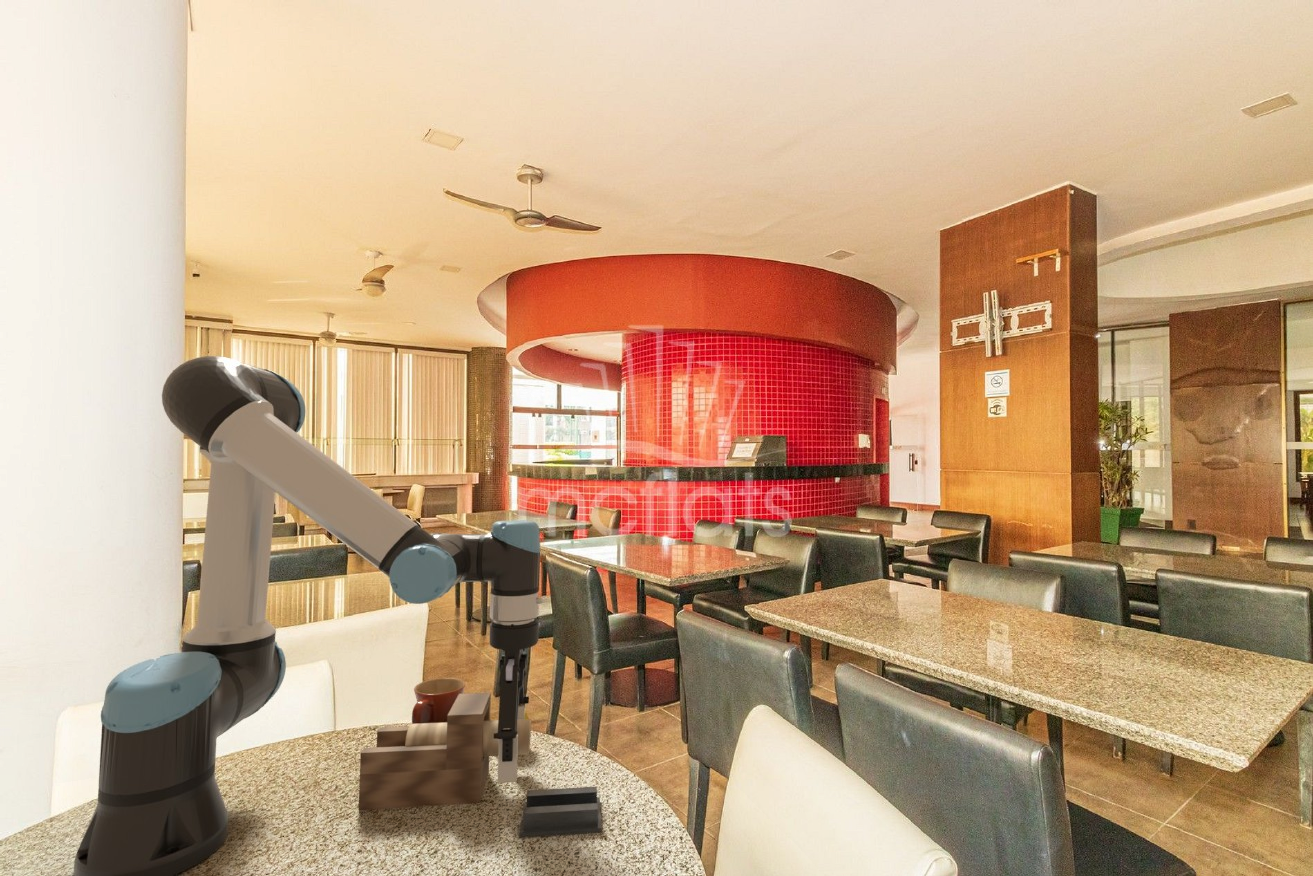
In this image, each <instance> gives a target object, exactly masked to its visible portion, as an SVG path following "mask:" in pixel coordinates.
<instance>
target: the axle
mask: <svg viewBox="0 0 1313 876" xmlns="http://www.w3.org/2000/svg"><path fill="white" fill-rule="evenodd" d="M531 724H532V723H531V718H529V719H518V720H517V734H518V756H522V755H525V756H526V755H530V750H531V733H532V732H531V731H532V730H531V729H532V727H531V726H532V725H531ZM408 726H409V728H408V731H407V736H406V742H405V746H420V745H441V744H447V722H445V723H421V724H412V723H410V724H409V725H408ZM507 729H510V728H507ZM494 733H498V719H497V720H490V721H484V725H483V757H487V756H489V757H498V748H499V739H498V738H497V739H494Z"/></svg>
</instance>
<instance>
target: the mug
mask: <svg viewBox="0 0 1313 876" xmlns="http://www.w3.org/2000/svg"><path fill="white" fill-rule="evenodd" d="M465 688H466V682H465V681H464V680H463V679H460V678H454V677H440V678H439V677H438V678H433V679H429V680H425V681H423V682H420V683H418V684H416V685H415V686H414V688H413V692H414V695H415V698H416V703H415V705H414V706H413V708H412V713H411V724H421V723H445V722H447V715H448V713H449V712H450V710H451V708H452V706H453V704H454V702H455V700H456V699H457V697H458V695H459V694H464V691H465Z"/></svg>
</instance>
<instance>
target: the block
mask: <svg viewBox="0 0 1313 876" xmlns="http://www.w3.org/2000/svg"><path fill="white" fill-rule="evenodd" d="M491 695H492V694H491V692H471V693H469V692H467V693H463V694H459V695H458V697H457V699H456V700H455V702H454V704H453V706H452V708H451V710H450V712H449V713H448V715H447V744H441V745H420V746H405V742H406V736H407V731H408V728H409V726H410V725H408V726H407V725H404V726H385V727H384V726H382V727H379V729H378V730H377V732H376V747H364V748H363V749H362V751H360V757H359V760H360V761H359V762H360V763H359V764H360V765H359V785H358V786H359V787H358V791H359V792H358V811H364V810H365V811H366V810H385V809H388V810H389V809H398V808H399V809H402V808H419V807H436V806H438V807H439V806H452V805H453V806H454V805H455V806H456V805H468V804H469V805H470V804H471V805H472V804H480V803H481V802H482V797H483V794H484V792H485V791H484V790H485V787H486V784H487V781H488V778H489V774H490V756H487V757H483V725H484V721H491V697H492V696H491Z"/></svg>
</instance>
